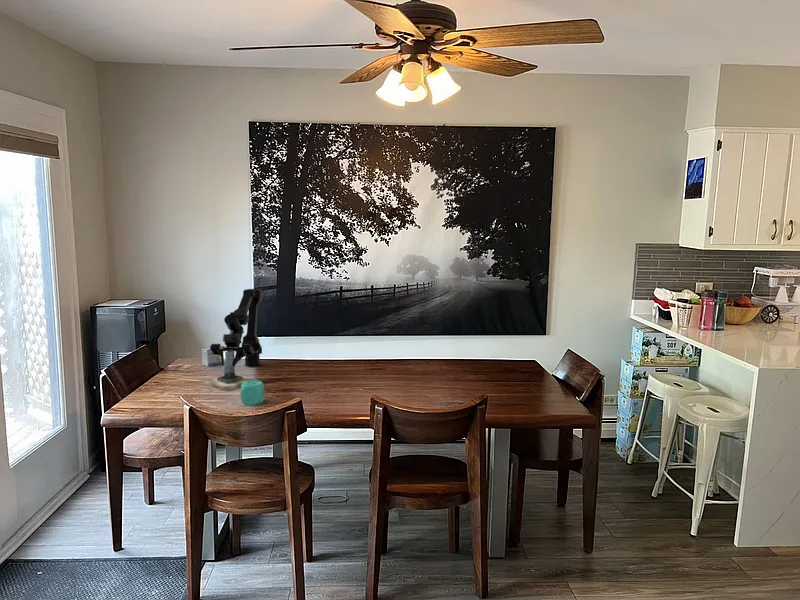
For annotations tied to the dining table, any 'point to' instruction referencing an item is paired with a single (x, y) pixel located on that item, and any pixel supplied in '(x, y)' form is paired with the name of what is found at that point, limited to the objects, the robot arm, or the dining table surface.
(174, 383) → the dining table surface
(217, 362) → the medicine box
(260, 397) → the decorative dice
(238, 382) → the collar base
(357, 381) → the dining table surface
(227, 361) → the shiny steel cylinder
